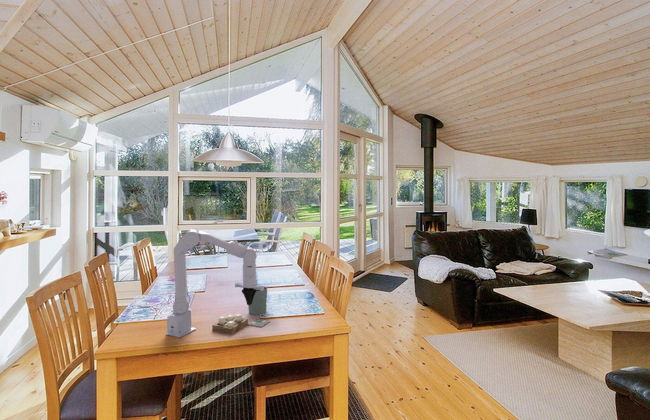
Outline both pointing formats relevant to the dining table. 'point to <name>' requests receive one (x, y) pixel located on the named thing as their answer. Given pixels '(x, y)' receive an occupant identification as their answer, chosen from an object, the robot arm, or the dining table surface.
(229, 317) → the button far left
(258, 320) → the card
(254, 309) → the grey cup
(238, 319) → the button far right
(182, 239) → the robot arm
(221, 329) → the board
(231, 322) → the button near right
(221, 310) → the dining table surface
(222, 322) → the button near left
